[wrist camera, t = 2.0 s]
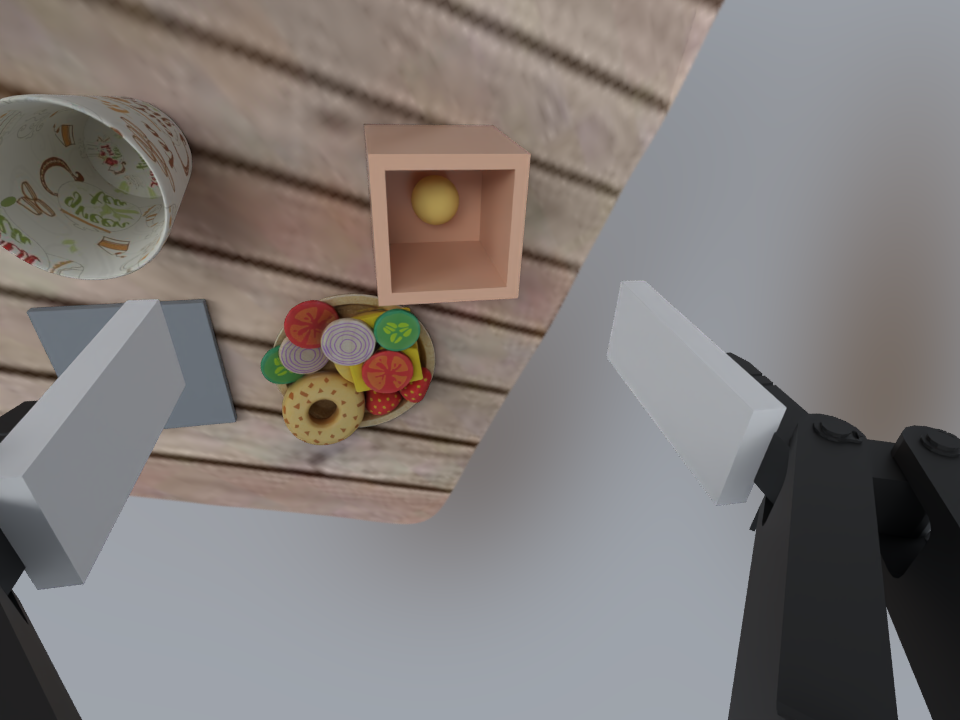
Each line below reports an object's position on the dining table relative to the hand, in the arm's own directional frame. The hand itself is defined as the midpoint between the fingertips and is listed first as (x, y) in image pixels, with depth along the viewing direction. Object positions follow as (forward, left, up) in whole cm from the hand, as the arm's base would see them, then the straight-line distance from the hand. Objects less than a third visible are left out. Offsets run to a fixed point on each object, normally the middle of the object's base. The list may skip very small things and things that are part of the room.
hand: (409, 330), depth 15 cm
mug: (-16, 0, -24) cm, 29 cm away
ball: (+4, -2, -23) cm, 23 cm away
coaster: (-18, -15, -24) cm, 34 cm away
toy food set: (-3, -16, -24) cm, 29 cm away
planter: (+4, -2, -24) cm, 24 cm away
